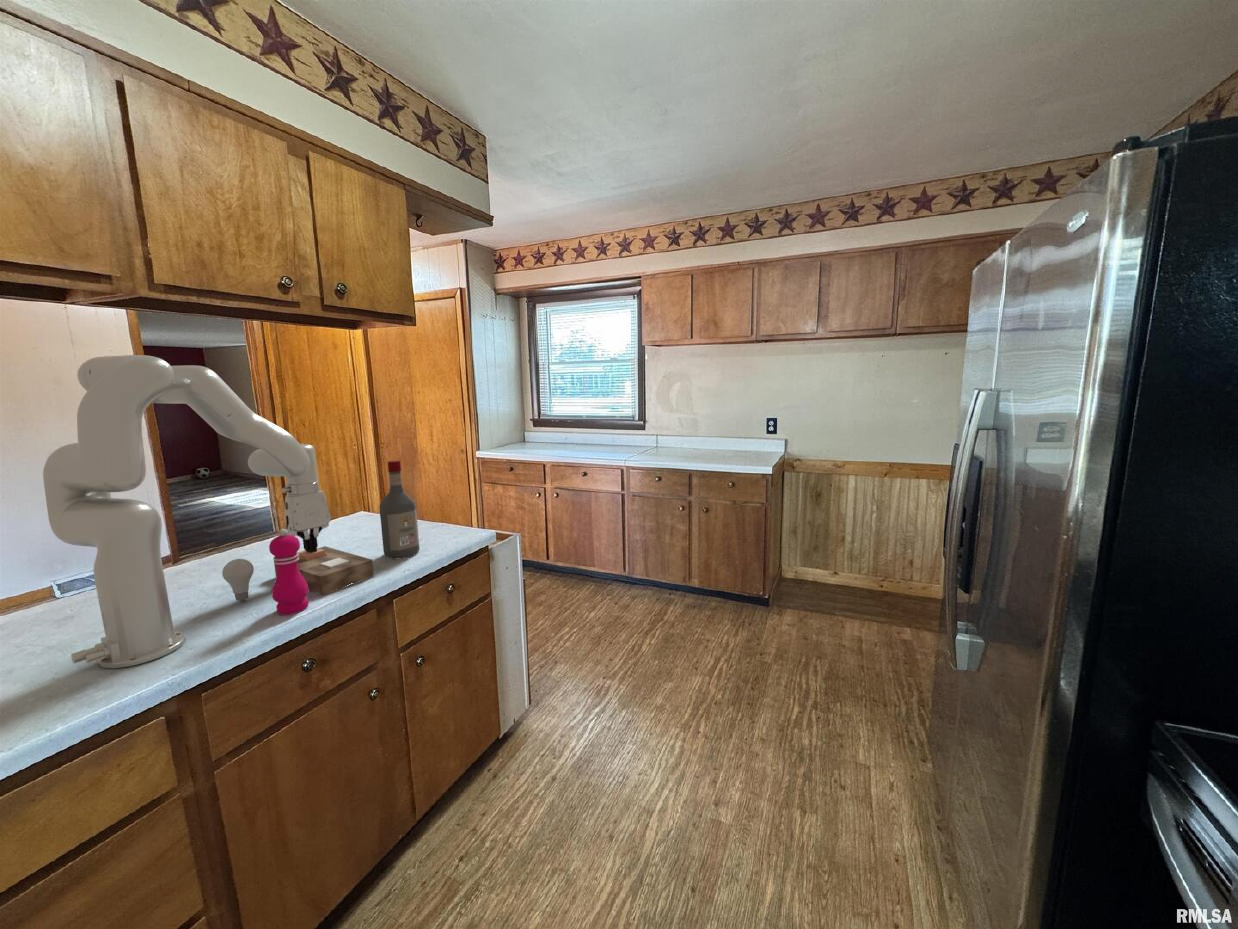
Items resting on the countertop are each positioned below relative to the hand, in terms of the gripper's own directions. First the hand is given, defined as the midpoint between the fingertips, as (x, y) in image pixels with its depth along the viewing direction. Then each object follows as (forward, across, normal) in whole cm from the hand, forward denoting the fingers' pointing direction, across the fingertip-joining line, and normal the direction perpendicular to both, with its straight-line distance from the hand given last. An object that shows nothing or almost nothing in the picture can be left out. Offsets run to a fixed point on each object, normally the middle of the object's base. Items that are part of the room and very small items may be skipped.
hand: (311, 551), depth 138 cm
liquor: (+7, +23, -8) cm, 25 cm away
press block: (+6, 0, -6) cm, 9 cm away
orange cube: (+5, 0, 0) cm, 5 cm away
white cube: (+6, 0, -12) cm, 14 cm away
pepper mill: (+7, -15, -20) cm, 26 cm away
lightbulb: (+7, -19, -4) cm, 21 cm away
